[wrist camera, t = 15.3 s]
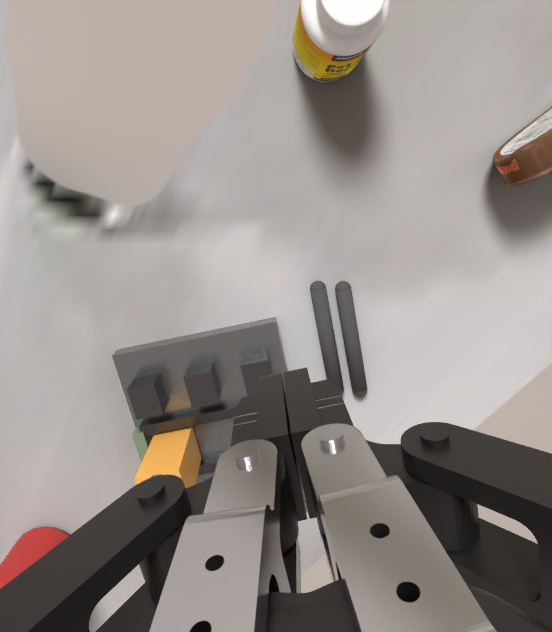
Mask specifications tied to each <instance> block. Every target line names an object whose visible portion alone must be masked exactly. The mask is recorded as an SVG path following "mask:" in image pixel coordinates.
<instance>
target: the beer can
mask: <svg viewBox="0 0 552 632" xmlns="http://www.w3.org/2000/svg"><path fill="white" fill-rule="evenodd" d="M69 536H70V535H68V534H67V533H65V532H64V531H62V530H59V529H56V528H52V527H40V528H35V529H32V530H30V531H28V532H26V533H25V534H23V535H22V536H21V537H20V538H19V540H18V541H17V542H16V544H15V545H14V546H13V548H12V549H11V551H10V552H9V554H8V555H7V556H6V558H5V559H4V561H3V562H2V564H1V565H0V589H1V588H2V587H3V586H5V585H6V584H7V583H9V582H10V581H11V580H12V579H14V578H15V577H16V576H18V575H19V574H20V573H22V572H23V571H24V570H26V569H27V568H28V567H29V566H31V565H32V564H33V563H35V562H36V561H37V560H39V559H40V558H41V557H42V556H44V555H45V554H46V553H48V552H49V551H50V550H52V549H53V548H54V547H56V546H57V545H58V544H59V543H61V542H62V541H63V540H65V539H66V538H67V537H69Z"/></svg>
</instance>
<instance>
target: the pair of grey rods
mask: <svg viewBox="0 0 552 632" xmlns="http://www.w3.org/2000/svg"><path fill="white" fill-rule="evenodd" d="M310 291H311V296H312V302H313V307H314V312H315V318H316V323H317V328H318V333H319V339H320V344H321V349H322V355H323V360H324V365H325V371H326V376H327V380H329V381H330V382H332V383H334V384H335V385H337V386H338V389H339V391H340V394H341V395H342V393H343V391H344V387H343V381H342V376H341V370H340V364H339V359H338V353H337V347H336V342H335V336H334V330H333V325H332V319H331V314H330V308H329V302H328V297H327V291H326V286H325V284H324V283H323V282H321V281H315V282H313V283H312V284H311V287H310ZM335 291H336V297H337V303H338V309H339V314H340V320H341V326H342V332H343V338H344V344H345V349H346V355H347V361H348V367H349V373H350V379H351V384H352V390H353V393H354V394H355V395H356V396H359V397H361V396H364V395H365V394H366V393H367V384H366V378H365V372H364V365H363V359H362V353H361V347H360V341H359V334H358V328H357V322H356V316H355V310H354V303H353V297H352V291H351V286H350V284H349V283H348V282H345V281H341V282H339V283H338V284H337V285H336V287H335Z"/></svg>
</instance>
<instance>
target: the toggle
mask: <svg viewBox="0 0 552 632" xmlns="http://www.w3.org/2000/svg"><path fill="white" fill-rule="evenodd" d="M200 463H201V454H200V451H199V447H198V444H197V440H196V437H195V433H194V430H193V427H192V426H191V427H186V428H181V429H176V430H171V431H167V432H162V433H157V434H154V436H153V438H152V440H151V443H150V445H149V447H148V449H147V452H146V454H145V456H144V459H143V461H142V463H141V465H140V468H139V470H138V472H137V474H136V477H135V479H134V480H135V483H136V485H137V484H139V483H140V482H142V481H144V480H146V479H149V478H152V477H155V476H159V475H175V476H178V477H180V478H181V479H182V480H183V482H184V485H185V489H186V488H188V487H191V486H193V485H195V484H196V481H197V476H198V472H199V467H200Z"/></svg>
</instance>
